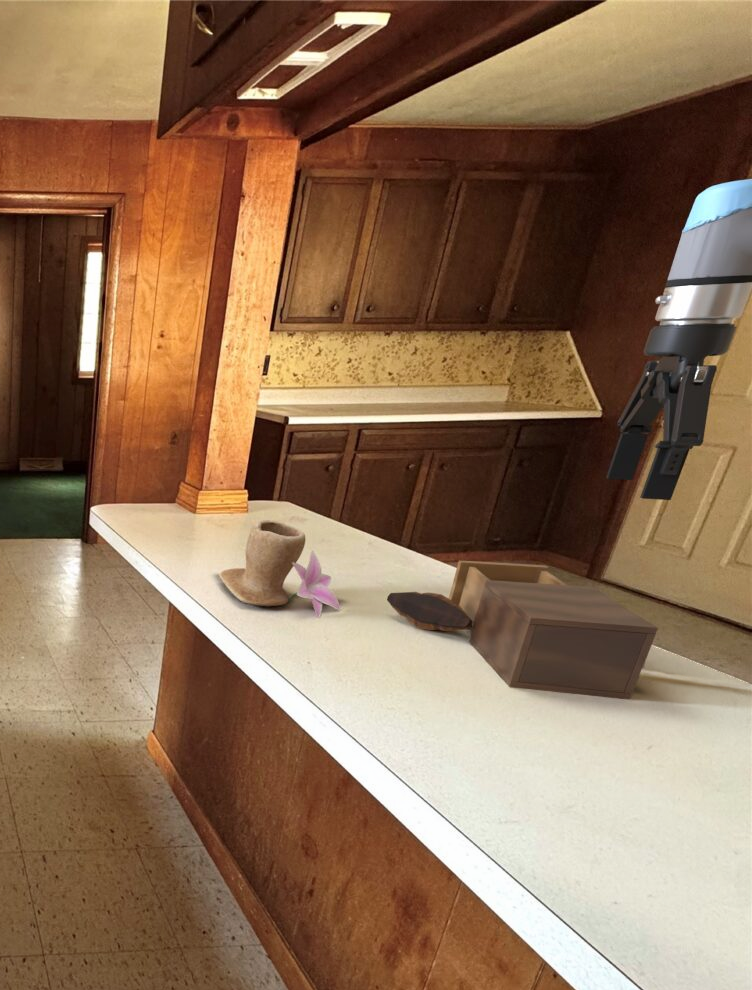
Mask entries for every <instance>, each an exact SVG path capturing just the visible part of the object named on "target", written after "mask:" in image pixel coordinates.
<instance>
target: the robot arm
mask: <svg viewBox="0 0 752 990" xmlns="http://www.w3.org/2000/svg"><path fill="white" fill-rule="evenodd" d="M679 239H680V240H679V243H678V245H677V249H676V252H675V255H674V258H673V261H672V264H671V267H670V270H669V274H668V277H667V281H666V284H665V287H664V290H663V293H662V295H659V296H657V297H656V298H655V301H654V303H655V304H656V305H658V308H657V311H656V314H655V318H654V320H655V321H656V322H659V325H654V326H653V328H651V329H650V331H649V334H648V336H647V339H646V343H645V345H644V348H643V354H644V355H645V356H647V357H660V358H659V360H647V362H646V364H645V366H644V369H643V372H642V374H641V377H640V379H639V381H638V382H637V385H636V387H635V388H634V390H633V392H632V394H631V396H630V398H629V399H628V402H627V403H626V406H625V407H624V409H623V410H622V413H621V415H620V417H619V419H618V420H617V427H620V434H619V438H618V442H617V444H616V447H615V450H614V453H613V455H612V459H611V461H610V466H609V467H608V471H607V474H606V476H605V478H606V479H607V480H623V481H624V480H625V481H633V479H634V477H635V474H636V471H637V468H638V466H639V463H640V460H641V457H642V454H643V451H644V448H645V445H646V442H647V440H648V437H649V434H652V433H653V425H652V424H653V422H654V421H655V419H656V418H657V417H658V416H659V414H660V413H661V411H662V410H663V428H662V429H663V430H662V431H663V432H662V434H663V435H662V440H659V441H658V442H657V443H656V444H655V445H654V448H655V449H656V451H655V453H654V457H653V459H652V463H651V466H650V469H649V471H648V474H647V477H646V480H645V483H644V486H643V488H642V491H641V494H640V496H639V498H641V500H642V499H643V500H659V501H660V500H661V501H671V500H672V497H673V494H674V493H675V489H676V487H677V485H678V482H679V479H680V477H681V474H682V471H683V469H684V465H685V463H686V461H687V457H688V455H689V452H690V450H692V449H693V448H694V447H700V446H702V445H703V444H704V440H705V439H704V438H705V432H706V426H707V418H708V411H709V405H710V398H711V392H712V385H713V381H714V378H715V375H716V373H717V370H718V369H717V368H718V365H716V364H714V365H713V364H705V359H706V358H707V357H717V356H718V357H719V356H723V355H725V354H726V353H727V352H728V351H729V349H730V346H731V343H732V341H733V339H734V335H735V332H736V331H737V326H736V324H735V323H733V320H734V319H739V318H741V317H743V313H744V311H745V309H746V306H747V303H748V300H749V297H750V295H751V293H752V178H749V179H740V180H734V181H729V182H728V181H727V182H723V183H719V184H716V185H712V186H710V187H707V188H706V189H705V190H703V191H702V192H700V193H699V194H697V196H696V198H695V200H694V202H693V204H692V208H691V210H690V213H689V215H688V217H687V220H686V223H685V226H684V228H683V229H682V231H681V236H680V238H679Z"/></svg>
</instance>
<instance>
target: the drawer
mask: <svg viewBox="0 0 752 990" xmlns="http://www.w3.org/2000/svg"><path fill="white" fill-rule="evenodd" d="M549 569H550V567H549V566H547V564H546V565H545V564H528V563H513V562H498V561H497V562H496V561H479V560H465V559H464V560H463V559H461V560H458V562H457V566H456V570H455V573H454V577H453V581H452V584H451V589H450V592H449V597H448V598H449V599H450V600H451V601H452V602H453V604H455V605H458V606H460V607H461V608H462V610H463V611H464V612H465V613H466V614H467V615H468V616H469V617H470V618H471V620H472V621H473V623H472V626H471V627H473V624H474V620H475V617H476V613H477V610H478V606H479V602H480V599H481V595H482V592H483V588H484V585H485V581H486V580H493V581H509V582H524V583H540V584H555V585H567V584H566V583H565V582H564V581H562V580H561V579H559V578H557V577H556V576H554V575H553V574H552V573H550V572H549Z"/></svg>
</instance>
